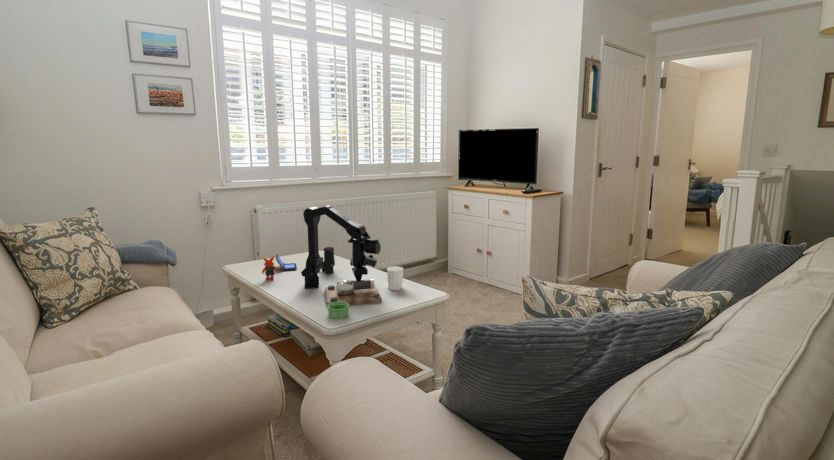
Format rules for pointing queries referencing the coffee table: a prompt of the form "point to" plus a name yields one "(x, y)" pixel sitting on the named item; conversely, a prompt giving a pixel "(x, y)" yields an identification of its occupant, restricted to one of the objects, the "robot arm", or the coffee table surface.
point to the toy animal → (269, 268)
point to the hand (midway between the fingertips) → (358, 283)
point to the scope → (328, 260)
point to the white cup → (395, 277)
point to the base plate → (353, 296)
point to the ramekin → (338, 309)
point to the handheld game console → (286, 265)
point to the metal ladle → (353, 286)
